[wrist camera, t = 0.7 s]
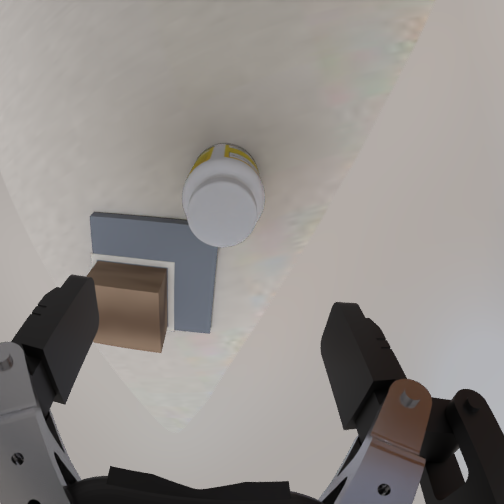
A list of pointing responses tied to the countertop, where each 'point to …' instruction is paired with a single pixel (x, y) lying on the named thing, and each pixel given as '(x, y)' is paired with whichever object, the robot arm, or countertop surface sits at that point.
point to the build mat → (162, 261)
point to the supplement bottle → (223, 196)
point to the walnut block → (131, 305)
